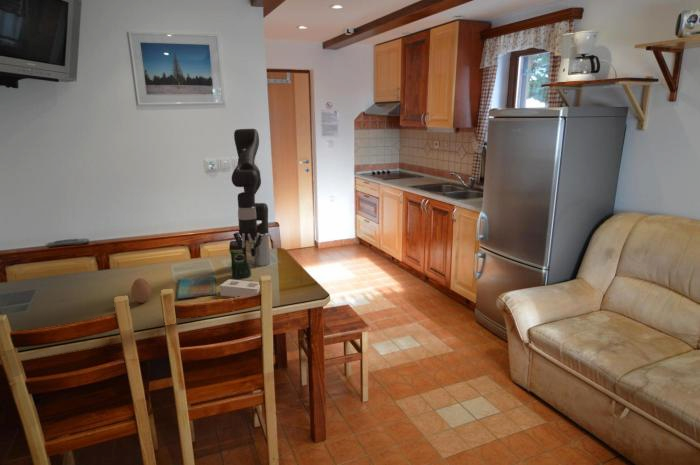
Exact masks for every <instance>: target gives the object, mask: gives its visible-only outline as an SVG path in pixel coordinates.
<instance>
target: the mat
mask: <svg viewBox="0 0 700 465" xmlns="http://www.w3.org/2000/svg"><path fill="white" fill-rule="evenodd" d="M233 280H241V281H252V279H242V278H233Z"/></svg>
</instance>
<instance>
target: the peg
mask: <svg viewBox="0 0 700 465" xmlns="http://www.w3.org/2000/svg"><path fill="white" fill-rule="evenodd" d="M245 244H246V260H247V263H250V264H253V262H254V259H253V257H252V253H251V244H250V241H249V240H245Z"/></svg>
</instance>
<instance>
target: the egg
mask: <svg viewBox="0 0 700 465" xmlns="http://www.w3.org/2000/svg"><path fill="white" fill-rule="evenodd" d="M131 296H132V298H133V299H134V301H136V302H138V303H140V304H141V303H146V302H147V301H149V299H150V298H151V296H152V288H151V285H150V284H149V282H148V281H147V280H146V279H144V278H141V277H138V278H137V279H135V280H134V281H133V283H132V286H131Z"/></svg>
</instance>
